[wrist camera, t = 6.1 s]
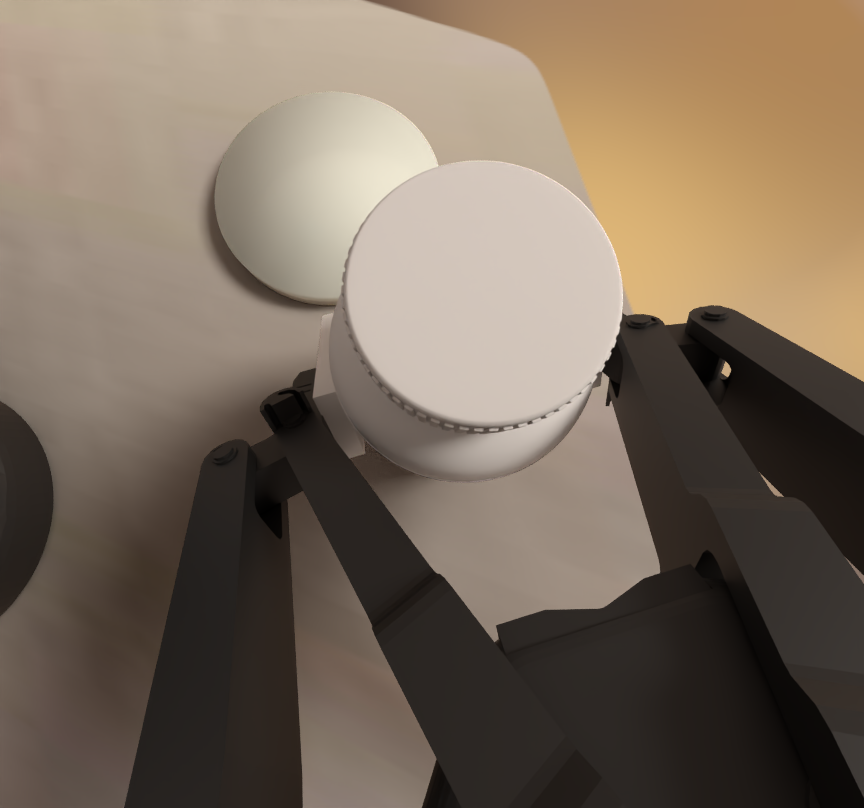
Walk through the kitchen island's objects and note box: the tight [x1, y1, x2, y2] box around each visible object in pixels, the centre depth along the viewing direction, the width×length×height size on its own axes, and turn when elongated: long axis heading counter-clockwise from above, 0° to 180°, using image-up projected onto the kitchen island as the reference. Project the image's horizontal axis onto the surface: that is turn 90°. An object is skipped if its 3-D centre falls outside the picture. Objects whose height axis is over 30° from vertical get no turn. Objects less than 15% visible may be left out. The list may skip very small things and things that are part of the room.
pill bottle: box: [329, 160, 623, 483], centre depth 14 cm, size 8×8×15 cm
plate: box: [214, 92, 438, 305], centre depth 22 cm, size 14×14×1 cm
